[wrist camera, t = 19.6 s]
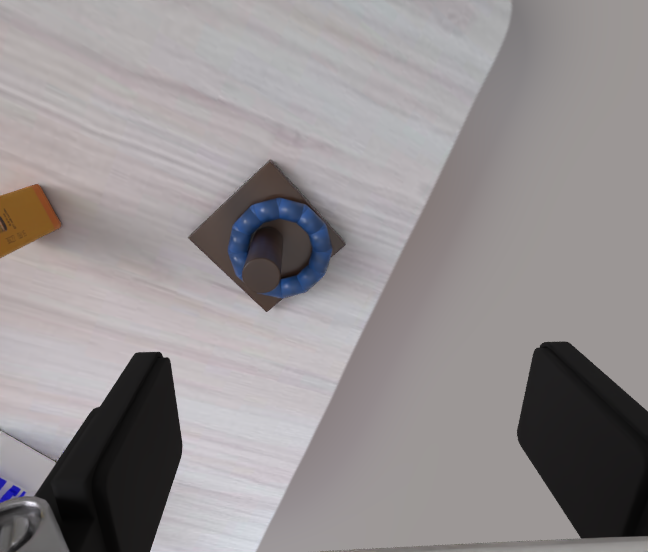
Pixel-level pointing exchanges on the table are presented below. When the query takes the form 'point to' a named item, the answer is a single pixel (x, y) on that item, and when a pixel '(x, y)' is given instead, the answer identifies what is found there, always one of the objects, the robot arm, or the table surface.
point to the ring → (289, 212)
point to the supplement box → (25, 218)
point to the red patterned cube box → (21, 468)
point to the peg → (261, 237)
